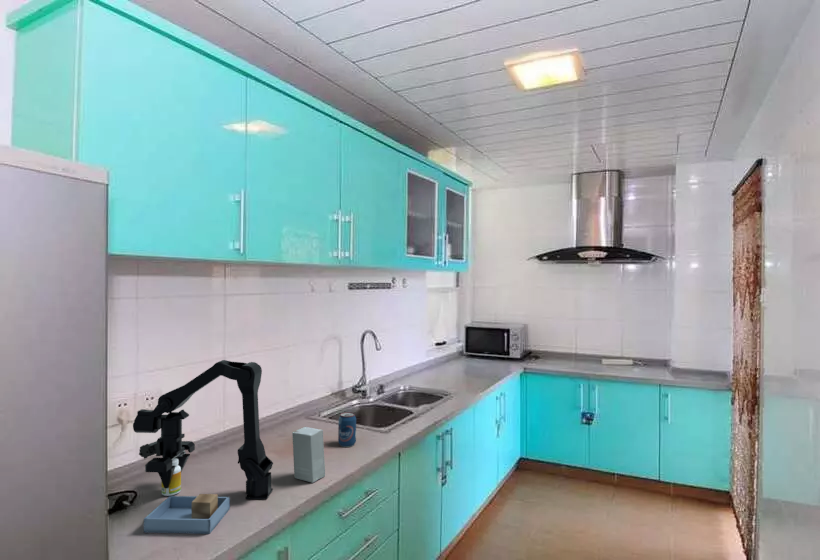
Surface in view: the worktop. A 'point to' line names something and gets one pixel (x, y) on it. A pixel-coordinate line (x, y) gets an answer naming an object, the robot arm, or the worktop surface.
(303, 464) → the skincare box
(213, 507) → the cube
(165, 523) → the tote
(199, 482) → the worktop surface
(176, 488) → the supplement bottle
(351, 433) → the soda can
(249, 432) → the robot arm
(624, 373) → the worktop surface
